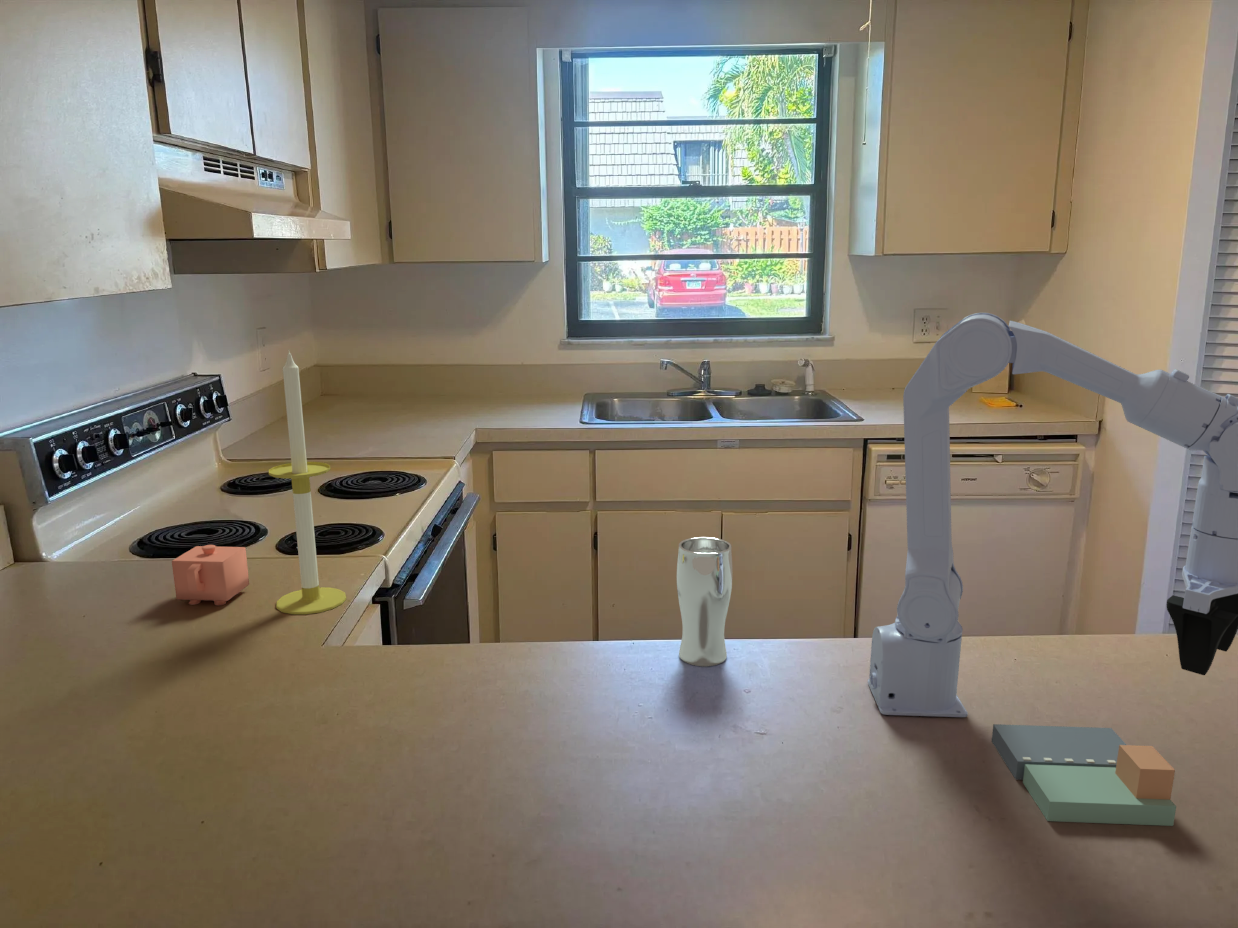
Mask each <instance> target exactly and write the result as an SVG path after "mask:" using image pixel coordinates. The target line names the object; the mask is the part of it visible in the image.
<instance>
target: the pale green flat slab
mask: <svg viewBox="0 0 1238 928" xmlns="http://www.w3.org/2000/svg"><path fill="white" fill-rule="evenodd" d="M1175 772H1176V770H1175V768H1174V767H1173V766H1172V765H1171V764H1170V763H1169V762H1168V761H1167V760H1166V759H1165V758H1164V757H1163V756H1162V754H1160V753H1159V751H1158V750H1157V749H1156V748H1155V747H1154V746H1153V745H1133V744H1129V745H1128V744H1126V745H1119V750H1118V757H1117V764H1116V768H1115V767H1087V766H1058V765H1029V764H1025V768H1024V777H1023V780H1022V784H1023V786H1024V787H1025V788H1026V790H1027V792H1028V793H1029V794H1030V796H1031V798H1032V799H1033V801H1034V802H1035V804H1036V805H1037V808H1039V810H1040V811H1041V813H1042V815H1043V817H1044V818H1045V820H1046V821H1047V822H1062V823H1063V822H1064V823H1088V824H1089V823H1090V824H1091V823H1094V824H1117V825H1120V824H1121V825H1138V826H1139V825H1141V826H1165V827H1167V826H1168V827H1170V826H1171V827H1174V824H1175V818H1176V811H1177V805H1176V804H1175V803H1174V802H1173V801H1172V799H1171V797H1172V791H1173V785H1174V779H1175V774H1176V773H1175Z"/></svg>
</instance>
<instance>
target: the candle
mask: <svg viewBox="0 0 1238 928" xmlns="http://www.w3.org/2000/svg"><path fill="white" fill-rule="evenodd" d="M287 351H288V352H287V356H286V361H285V364H284V366H283V367H282V376H283V387H284V396H285V397H284V398H285V399H284V400H285V407H286V409H285V410H286V420H287V421H286V422H287V428H288V429H287V430H288V439H289V441H288V442H289V451H290V463H285V464H284V463H283V464H279V465H276V466H273V467H271V468H269V469H268V475H269V476H270V477H273V478H277V479H291V487H292V490H291V491H292V499H293V509H294V521H295V522H294V523H295V532H296V541H297V551H298V553H297V554H298V555H297V556H298V563H299V574H300V575H299V576H300V585H301V589H299V590H294V591H291V592H289V593H287V594H283V595H282V596H281V597H280V598H279V599H277V601H276V603H275V604H276V605H275V607H276V609H277V610H278V611H280V612H281V613H284V614H287V615H305V616H306V615H313V614H320V613H323V612H327V611H330V610H333V609H336V608H337V607H340V606H341V605H343V604H344V602H345V601H346V600H347V596H346V595H347V594H346V592H345V591H343V590H341V589H339V588H335V587H326V586H325V587H324V586H323V587H322V586H321V587H320V582H319V571H318V570H319V569H318V559H317V558H318V557H317V548H316V547H317V546H316V535H315V526H314V525H315V524H314V515H313V513H314V512H313V502H312V492H311V490H312V489H311V479H310V477H316V476H321V475H323V474H326V473H328V472H329V471H331V464H328V463H326V462H319V461H308V459H307V451H306V448H307V447H306V438H305V427H304V417H303V416H304V415H303V403H302V391H301V390H302V389H301V382H300V368H299V366H298V365H297V364H296V363H295V361H294V358H293V356H292V353H291V352H290V349H288V350H287Z"/></svg>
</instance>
